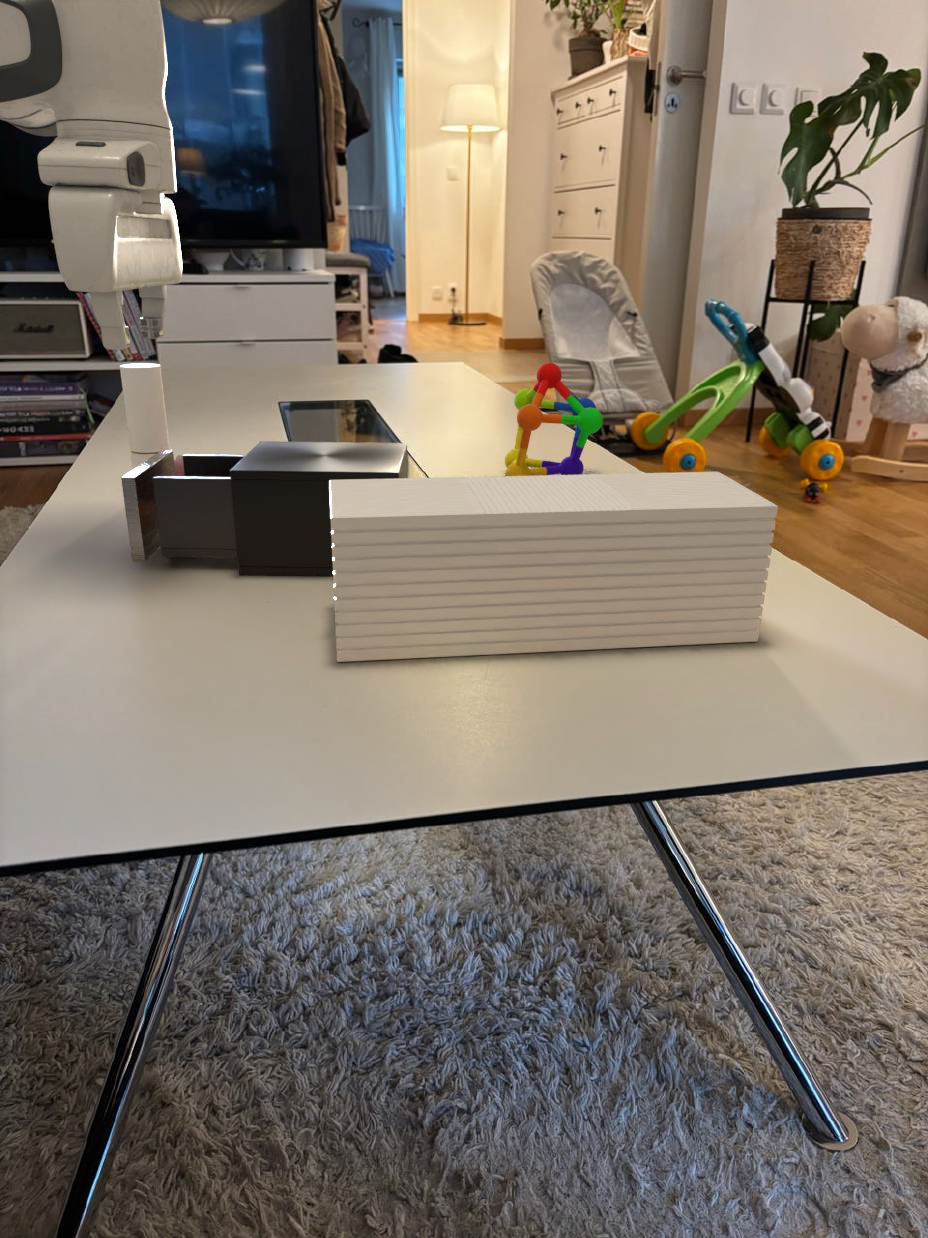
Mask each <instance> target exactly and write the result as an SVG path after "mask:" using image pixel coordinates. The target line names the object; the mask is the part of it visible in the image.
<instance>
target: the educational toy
mask: <svg viewBox="0 0 928 1238" xmlns="http://www.w3.org/2000/svg"><path fill="white" fill-rule="evenodd" d="M562 377H563V374H562V370H561V368H560V366H558V364H556V363H554V362H545V363H542V364H541V365H540V366H539V368H538V369H537V371H536V380H537V382H536V383H535V384H534V385H533V386H532V388H531V389H530V388H522V389H520V390H518V391H517V392H516V393H515V396H514V401H513V403H514V406H515V409H517V410H518V411H517V414H516V421H517V430H516V437H515V442H514V448H512V449H510V450H509V451H508V452H507V453H506V454H505V456H504V464H505V467H506V470H505V476H536V475H538V476H539V475H583V473H584V467H585V466H584V463H583V462H582V460H581V456H582V453H583V451H584V448H585V446H586V443H587V441H588V439H589V436H590V435H591V434H595V433H597V432H599V431H600V429H601V427H602V426H603V422H604V417H603V415H602V413H601V411H599V410H598V409H597V406H596V404H595V402H594V401H593V400H592V399H591V398H588V397H580V398H578V397H577V396H576V394H574V393H573V392H572V391H571V390H570V389H569V388H568V387H567V386H566V384H564V383H563V381H562ZM548 389H555V390H556V392H558V394H559V395H560V396H561V397H562V398H563V399H564V401H566V402H562V401H555V400H550V399H549V400H548V399H544V398H545V396H546V394H547V392H548ZM540 408H541V409H542V408H543V409H549V410H555V411H561V412H568V413H572V415H570V414H552V413H551V414H549V413H543V411H542V410H541V409H540ZM542 424H559V425H575V430H574V436H573V440H572V444H571V445H572V446H571V449H570V454H569V456H566V457H564V458H563V459H562V460H561V461H560V462H557V461H550V460H543V459H536V458H530V457H529V456H528V455H527V453H528V450H529V444H530V440H531V435H532V432H534V431H536V430H537V429H539V428H540V427H541V425H542ZM528 457H529V458H528ZM529 467H530V468H529Z"/></svg>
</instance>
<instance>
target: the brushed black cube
mask: <svg viewBox="0 0 928 1238" xmlns="http://www.w3.org/2000/svg"><path fill="white" fill-rule="evenodd" d="M244 455H245V456H244V457H243V458H242V459H241V460H240V461H239V462H238V463H237V464H236V465H235V466H234V467H233V468H232V469H231V470H230V478H231V489H232V501H233V513H234V524H235V536H236V548H237V570H238V575H239V576H288V577H289V576H292V577H293V576H295V577H297V576H298V577H301V576H304V577H333V561H332V538H331V514H330V490H329V480H347V479H394V478H408V443H407V442H351V441H350V442H349V441H346V442H345V441H344V442H342V441H278V440H277V441H275V440H274V441H272V440H271V441H270V440H269V441H267V440H266V441H264V440H260V441H259V442H258V443H256V444H255V446H253V447H252V448H251V449H250V450H249V451H248V452H247V453H246V454H244Z"/></svg>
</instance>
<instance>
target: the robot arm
mask: <svg viewBox="0 0 928 1238" xmlns="http://www.w3.org/2000/svg"><path fill="white" fill-rule="evenodd" d="M162 12H163V11H162V5H161V0H0V120H1V121H3V122H7V123H8V124H10V125H12V126H14V127H16V128H17V129H19V130H21V131H23V132H26V133H28V134H30V135H33V136H38V137H55V138H54V140H53V141H52V142H51V143H50V144H49V145H47V146H46V147H45V148H43V149H41V150H40V151H39V152H38V154H37V168H38V174H39V178H40V181H41V182H42V184H45V185H47V186H51V188H50V190H49V191H48V211H49V212H48V213H49V220H50V226H51V233H52V240H53V245H54V251H55V255H56V262H57V267H58V270H59V273H60V275H61V278H62V280H63V282H64V284H65V286H66V287H67V288H68V290H69V291H71V292H81V293H82V292H84V293H89V296H90V306H91V308H92V310H93V313H94V316H95V317H96V320H97V322H98V325H99V327H100V332H101V341H102V345H103V348H105V349H106V350H113V351H121V350H124V349H127V348H129V347H130V345H131V338H130V327H129V326H128V325H126V323H125V317H124V313H123V308H122V306H123V305H124V294H123V292H124V291H129V290H137V289H138V293H139V297H140V298H141V317H139V327H140V335H141V337H142V338H144V339H147V340H148V339H149V340H158V339H161V338H163V337H165V334H166V330H165V316H166V315H165V314H166V308H167V301H168V291H167V286H168V285H176V284H180V283H181V282H182V276H183V258H182V257H183V256H182V250H181V241H180V240H181V239H180V233H179V226H178V219H177V212H176V209H175V205H174V203H173V200H171V198H170V197H167V196H165V195H167V194H168V195H170V194H176V193H177V192H178V187H177V175H176V160H175V146H174V135H173V126H172V121H171V118H170V116H169V112H168V109H167V105H166V95H165V93H166V82H167V77H168V69H169V68H168V55H167V44H166V35H165V34H166V33H165V25H164V19H163V18H164V17H163V13H162Z"/></svg>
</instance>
